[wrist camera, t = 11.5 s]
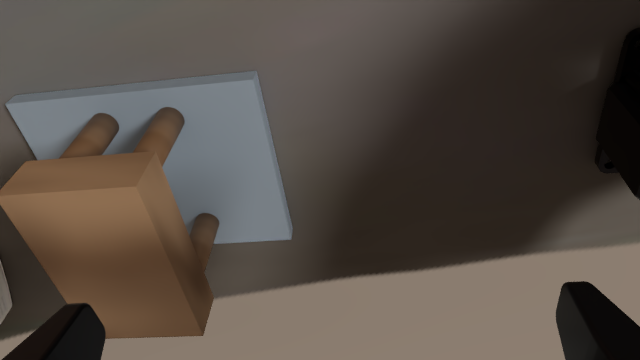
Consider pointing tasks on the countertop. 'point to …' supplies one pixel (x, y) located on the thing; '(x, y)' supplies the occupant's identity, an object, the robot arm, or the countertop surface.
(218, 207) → the board
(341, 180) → the countertop surface
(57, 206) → the block with dowel legs
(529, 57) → the countertop surface
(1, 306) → the syrup box
